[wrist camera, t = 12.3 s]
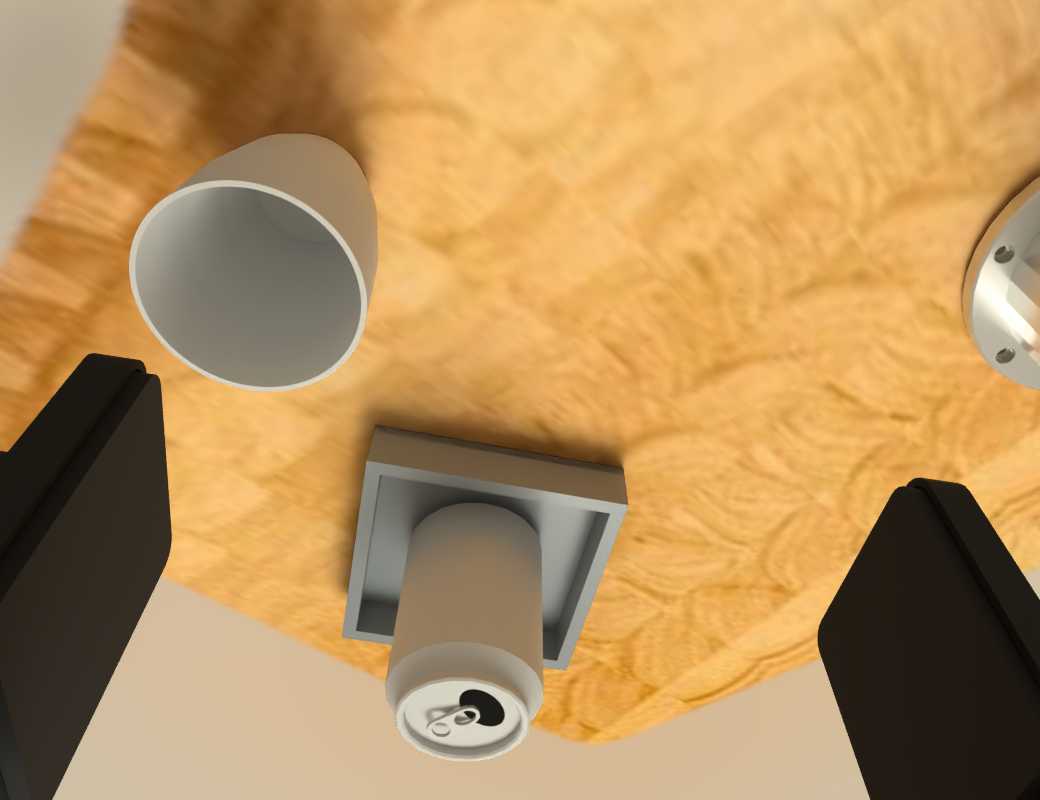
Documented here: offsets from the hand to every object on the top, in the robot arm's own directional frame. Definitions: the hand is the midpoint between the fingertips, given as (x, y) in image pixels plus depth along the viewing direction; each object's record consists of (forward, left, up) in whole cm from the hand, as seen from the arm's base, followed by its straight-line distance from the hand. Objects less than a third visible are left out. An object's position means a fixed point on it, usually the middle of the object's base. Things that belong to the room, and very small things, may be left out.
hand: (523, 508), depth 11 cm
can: (-3, +27, -28) cm, 39 cm away
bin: (-3, +27, -28) cm, 39 cm away
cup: (+8, +8, -28) cm, 31 cm away
